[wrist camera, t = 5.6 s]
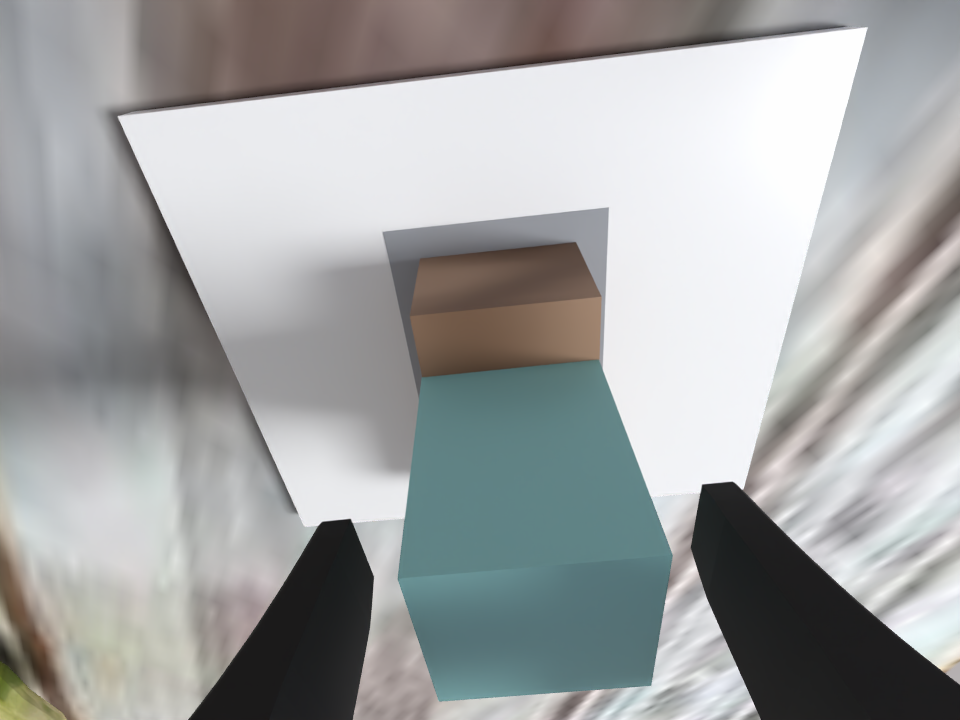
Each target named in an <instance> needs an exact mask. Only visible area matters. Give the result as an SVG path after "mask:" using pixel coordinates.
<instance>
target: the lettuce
mask: <svg viewBox="0 0 960 720" xmlns="http://www.w3.org/2000/svg"><path fill="white" fill-rule="evenodd" d="M0 720H67V719H66V718H65V716H64V714H63V713H62V712H60V711H59V710H58V709H56V708H55V707H53V706H52V705H51V704H49V703H48V702H47V701H45V700H44V699H42V698H41V697H40V696H38V695H37V694H36V693H34V692H33V691H31V690H30V689H29V688H28V687H27V686H26V685H25V684H24V683H23V681H22V680H21V679H20V678H19V677H18V676H17V675H16V674H15V673H14V672H13V671H12V670H11V669H10V668H9V667H8V666H7V665H5V664H4V663H2V662H1V661H0Z"/></svg>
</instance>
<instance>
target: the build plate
mask: <svg viewBox="0 0 960 720" xmlns="http://www.w3.org/2000/svg"><path fill="white" fill-rule="evenodd" d="M866 31H867V27H852V26H849V27H840V28H832V29H824V30H815V31H807V32H798V33H790V34H782V35H773V36H765V37H756V38H748V39H740V40H731V41H723V42H714V43H706V44H698V45H689V46H681V47H672V48H664V49H656V50H647V51H639V52H630V53H622V54H614V55H605V56H597V57H588V58H580V59H572V60H563V61H555V62H546V63H538V64H530V65H521V66H513V67H504V68H496V69H488V70H479V71H471V72H462V73H454V74H446V75H437V76H429V77H420V78H412V79H404V80H395V81H387V82H378V83H370V84H362V85H353V86H345V87H336V88H328V89H320V90H311V91H303V92H294V93H286V94H278V95H269V96H261V97H252V98H244V99H236V100H227V101H219V102H210V103H202V104H194V105H185V106H177V107H168V108H160V109H152V110H143V111H135V112H130V113H127V114H124V115H120V116H118V118H119V121H120V123H121V125H122V127H123V129H124V132H125V134H126V136H127V138H128V140H129V143H130V145H131V147H132V149H133V151H134V154H135V156H136V158H137V160H138V162H139V165H140V167H141V169H142V171H143V173H144V176H145V178H146V180H147V182H148V184H149V187H150V189H151V191H152V193H153V195H154V198H155V200H156V202H157V204H158V206H159V209H160V211H161V213H162V215H163V217H164V219H165V222H166V224H167V226H168V228H169V230H170V233H171V235H172V237H173V239H174V241H175V244H176V246H177V248H178V250H179V252H180V255H181V257H182V259H183V261H184V263H185V266H186V268H187V270H188V272H189V274H190V277H191V279H192V281H193V283H194V285H195V288H196V290H197V292H198V294H199V296H200V299H201V301H202V303H203V305H204V307H205V310H206V312H207V314H208V316H209V318H210V320H211V323H212V325H213V327H214V329H215V331H216V334H217V336H218V338H219V340H220V342H221V345H222V347H223V349H224V351H225V353H226V356H227V358H228V360H229V362H230V364H231V367H232V369H233V371H234V373H235V375H236V378H237V380H238V382H239V384H240V386H241V389H242V391H243V393H244V395H245V397H246V400H247V402H248V404H249V406H250V408H251V411H252V413H253V415H254V417H255V419H256V421H257V424H258V426H259V428H260V430H261V432H262V435H263V437H264V439H265V441H266V443H267V446H268V448H269V450H270V452H271V454H272V457H273V459H274V461H275V463H276V465H277V468H278V470H279V472H280V474H281V476H282V479H283V481H284V483H285V485H286V487H287V490H288V492H289V494H290V496H291V498H292V501H293V503H294V505H295V507H296V509H297V512H298V514H299V516H300V518H301V520H302V522H303V525H304V527H310V526H319V525H320V523H321V522H323V521H333V520H343V519H351V521H352V523H357V522H368V521H380V520H392V519H403V518H405V513H406V504H407V496H408V488H409V479H410V471H411V462H412V454H413V446H414V437H415V429H416V421H417V412H418V404H419V395H420V387H421V379H422V374H421V369H420V364H419V359H418V355H417V350H416V345H415V340H414V335H413V330H412V325H411V320H410V311H411V306H412V300H413V295H414V289H415V284H416V278H417V273H418V267H419V262H420V259H421V258H431V257H440V256H450V255H459V254H468V253H478V252H487V251H497V250H506V249H516V248H525V247H535V246H544V245H554V244H563V243H573V242H576V243H577V245H578V247H579V249H580V252H581V254H582V256H583V258H584V260H585V262H586V264H587V267H588V269H589V271H590V273H591V275H592V277H593V279H594V282H595V284H596V286H597V288H598V290H599V292H600V294H601V296H602V300H601V330H600V360H599V361H600V364H601V366H602V369H603V372H604V374H605V377H606V380H607V382H608V385H609V388H610V390H611V393H612V396H613V398H614V401H615V404H616V406H617V409H618V411H619V414H620V417H621V419H622V422H623V425H624V427H625V430H626V433H627V435H628V438H629V441H630V443H631V446H632V449H633V451H634V454H635V457H636V459H637V462H638V465H639V467H640V470H641V472H642V475H643V478H644V480H645V483H646V486H647V488H648V491H649V494H650V496H651V497H659V496H671V495H682V494H694V493H701V487H702V484H711V483H722V482H732V481H733V482H734V483H736V484H737V485H738V486H739V487H740V488H741V489H744V485H745V481H746V477H747V474H748V470H749V466H750V463H751V459H752V455H753V451H754V448H755V444H756V440H757V437H758V433H759V429H760V425H761V422H762V418H763V414H764V410H765V407H766V403H767V399H768V396H769V392H770V388H771V384H772V381H773V377H774V373H775V370H776V366H777V362H778V358H779V355H780V351H781V347H782V344H783V340H784V336H785V332H786V329H787V325H788V321H789V317H790V314H791V310H792V306H793V303H794V299H795V295H796V291H797V288H798V284H799V280H800V277H801V273H802V269H803V265H804V262H805V258H806V254H807V251H808V247H809V243H810V239H811V236H812V232H813V228H814V224H815V221H816V217H817V213H818V210H819V206H820V202H821V198H822V195H823V191H824V187H825V184H826V180H827V176H828V172H829V169H830V165H831V161H832V158H833V154H834V150H835V146H836V143H837V139H838V135H839V131H840V128H841V124H842V120H843V117H844V113H845V109H846V105H847V102H848V98H849V94H850V91H851V87H852V83H853V79H854V76H855V72H856V68H857V65H858V61H859V57H860V53H861V50H862V46H863V42H864V38H865V35H866Z"/></svg>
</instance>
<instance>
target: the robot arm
mask: <svg viewBox="0 0 960 720" xmlns="http://www.w3.org/2000/svg"><path fill="white" fill-rule="evenodd" d="M691 550H692V553H693V556H694V559H695V563H696V566H697V569H698V572H699V575H700V578H701V581H702V584H703V588H704V591H705V594H706V597H707V599H708V602H709V604H710V606H711V608H712V611H713V613H714V615H715V618H716V620H717V622H718V624H719V627H720V629H721V631H722V633H723V636H724V638H725V640H726V642H727V645H728V647H729V649H730V651H731V653H732V656H733V658H734V660H735V662H736V665H737V667H738V669H739V671H740V674H741V676H742V678H743V680H744V682H745V685H746V687H747V689H748V691H749V694H750V696H751V698H752V700H753V702H754V705H755V707H756V709H757V711H758V714H759V716H760V718H761V720H960V685H959V684H958V683H957V682H955V681H954V680H953V679H952V678H950V677H949V676H948V675H946V674H945V673H944V672H943V671H941V670H940V669H939V668H938V667H936V666H935V665H934V664H932V663H931V662H930V661H929V660H927V659H926V658H925V657H923V656H922V655H921V654H920V653H918V652H917V651H916V650H915V649H914V648H912V647H911V646H910V645H909V644H907V643H906V642H905V641H904V640H903V639H901V638H900V637H899V636H898V635H897V634H895V633H894V632H893V631H892V630H891V629H889V628H888V627H887V626H886V625H885V624H883V623H882V622H881V621H880V620H879V619H878V618H877V617H875V616H874V615H873V614H872V613H871V612H870V611H868V610H867V609H866V608H865V607H864V606H863V605H861V604H860V603H859V602H858V601H857V600H856V599H855V598H854V597H852V596H851V595H850V594H849V593H848V592H847V591H846V590H845V589H843V588H842V587H841V586H840V585H839V584H838V583H837V582H836V581H835V580H834V579H833V578H832V577H830V576H829V575H828V574H827V573H826V572H825V571H824V570H823V569H822V568H821V567H820V566H819V565H818V564H817V563H815V562H814V561H813V560H812V559H811V558H810V557H809V556H808V555H807V554H806V553H805V552H804V551H803V550H802V549H801V548H800V547H799V546H798V545H797V544H795V543H794V542H793V541H792V540H791V539H790V538H789V537H788V536H787V535H786V534H785V533H784V532H783V531H782V530H781V529H780V528H779V527H778V526H777V525H776V524H775V523H774V522H773V521H772V520H771V519H770V518H769V517H768V516H767V515H766V514H765V513H764V512H763V511H762V510H761V509H760V508H759V507H758V506H757V505H756V503H755V502H754V501H753V500H752V499H751V498H750V497H749V496H748V495H747V494H746V493H745V492H744V491H743V490H742V489H741V488H740V487H739V486H738V485H737V484H736V483H734V482H733V481H732V482H722V483H711V484H702V487H701V493H700V499H699V504H698V510H697V516H696V521H695V527H694V533H693V538H692V544H691ZM373 582H374V576H373V573H372V571H371V568H370V566H369V563H368V561H367V558H366V556H365V553H364V551H363V548H362V546H361V543H360V541H359V538H358V536H357V533H356V531H355V528H354V526H353V523H352V521H351V519H343V520H333V521H323V522H321V523H320V525H319V526H318V527H317V529H316V531H315V532H314V534H313V536H312V538H311V539H310V541H309V543H308V544H307V546H306V548H305V549H304V551H303V553H302V554H301V556H300V558H299V559H298V561H297V563H296V564H295V566H294V568H293V569H292V571H291V573H290V574H289V576H288V577H287V579H286V581H285V582H284V584H283V586H282V587H281V589H280V590H279V592H278V593H277V595H276V597H275V598H274V600H273V601H272V603H271V604H270V606H269V607H268V609H267V610H266V612H265V614H264V615H263V617H262V618H261V620H260V621H259V623H258V624H257V626H256V627H255V629H254V630H253V632H252V633H251V635H250V636H249V638H248V639H247V641H246V642H245V643H244V645H243V646H242V648H241V649H240V650H239V652H238V653H237V655H236V656H235V658H234V659H233V660H232V662H231V663H230V665H229V666H228V667H227V669H226V670H225V672H224V673H223V675H222V676H221V677H220V679H219V680H218V681H217V683H216V684H215V685H214V687H213V688H212V689H211V691H210V692H209V693H208V695H207V696H206V697H205V699H204V700H203V701H202V703H201V704H200V705H199V707H198V708H197V709H196V710H195V712H194V713H193V714H192V716H191V717H190V718H189V719H188V720H353V715H354V710H355V704H356V699H357V694H358V689H359V684H360V678H361V673H362V668H363V662H364V657H365V652H366V646H367V641H368V635H369V630H370V621H371V610H372V597H373Z"/></svg>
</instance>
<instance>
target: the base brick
mask: <svg viewBox="0 0 960 720" xmlns="http://www.w3.org/2000/svg"><path fill="white" fill-rule="evenodd" d="M601 300H602V296H601V294H600V292H599V290H598V288H597V286H596V284H595V282H594V279H593V277H592V275H591V273H590V271H589V269H588V267H587V264H586V262H585V260H584V258H583V256H582V254H581V252H580V249H579V247H578V245H577V243H576V242H573V243H563V244H554V245H544V246H535V247H525V248H516V249H506V250H497V251H487V252H478V253H468V254H459V255H450V256H440V257H431V258H421V259H420V262H419V267H418V273H417V278H416V284H415V289H414V295H413V300H412V306H411V311H410V320H411V325H412V330H413V335H414V340H415V345H416V350H417V355H418V359H419V364H420V369H421V374H422V377H432V376H442V375H451V374H461V373H471V372H481V371H491V370H501V369H511V368H521V367H530V366H540V365H550V364H560V363H570V362H580V361H590V360H600V330H601Z"/></svg>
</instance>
